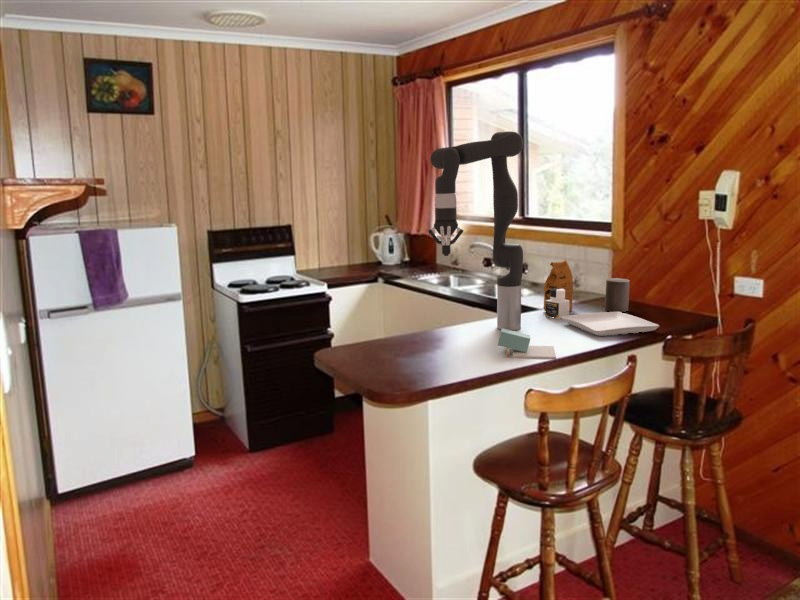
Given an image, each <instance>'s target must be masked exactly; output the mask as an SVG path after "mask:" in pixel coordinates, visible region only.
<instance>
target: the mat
mask: <svg viewBox="0 0 800 600" xmlns="http://www.w3.org/2000/svg"><path fill="white" fill-rule="evenodd" d="M512 358H513V359H545V358H552V359H551V360H553V359H555V360H556V359H557V355H556V351H555V347H554V345H529V346H528V350H527V353H525V352H522V351H518V350H514V349H512Z"/></svg>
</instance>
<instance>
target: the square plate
mask: <svg viewBox="0 0 800 600" xmlns="http://www.w3.org/2000/svg"><path fill="white" fill-rule="evenodd" d="M561 319H562V320H563V321H564V322H565V323H567V324H568V325H572V326H573V327H575V326H576V327H575V328H577V327H578V328H577V329H579V328H581V329H580V330H582V329H583V330H582V331H584V330H586V331H585V332H587V331H588V333H589V332H590V333H589V334H592V333H593V334H592V335H594V334H595V335H594V336H598V337H599V336H601V337H608V336H607V335H612V336H619V335H618V334H622V335H629V334H628V333H633V334H640V333H639V332H642V333H645V332H646V333H648V332H652V331H655V330H656V329H658V328H659V327H660V325H659V324H658V323H654V322H651V321H649V320H646V319H644V318H641V317H638V316H636V315H635V316H634V315H632V314H629V313H622V312H607V311H605V312H604V311H603V312H589V313H581V314H573V315H572V314H571V315H570V314H569V316H561Z"/></svg>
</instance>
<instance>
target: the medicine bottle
mask: <svg viewBox="0 0 800 600" xmlns="http://www.w3.org/2000/svg"><path fill="white" fill-rule="evenodd" d="M550 298H551V299H550V300H546V312H545V317H546V316H548V317H547V318H550V317H554V318H553V319H555V318H561V316H570V311H569V302H570V301H569V300H565V290H564V289H562V288H553V289H551V290H550ZM561 319H562V318H561Z"/></svg>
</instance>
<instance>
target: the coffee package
mask: <svg viewBox="0 0 800 600" xmlns="http://www.w3.org/2000/svg"><path fill="white" fill-rule="evenodd" d="M550 266H551V267H552V268H551V270H550V273H549V275H548V276H547V278H546V279H545V282H544V286H543V310H544V312H545V311H546V300H550V299H551V298H550V290H551V289H553V288H562V289H564V290H565V300H569V301H570V302H569V310H570V311H572V310H573V299H574V294H573V293H574V281H573V274H572V270H571V268H570V266H569V264H568V261H567V260H566V259H564V260H562V261H559V262H557V261H554V262H553V261H552V262H551V263H550Z"/></svg>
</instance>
